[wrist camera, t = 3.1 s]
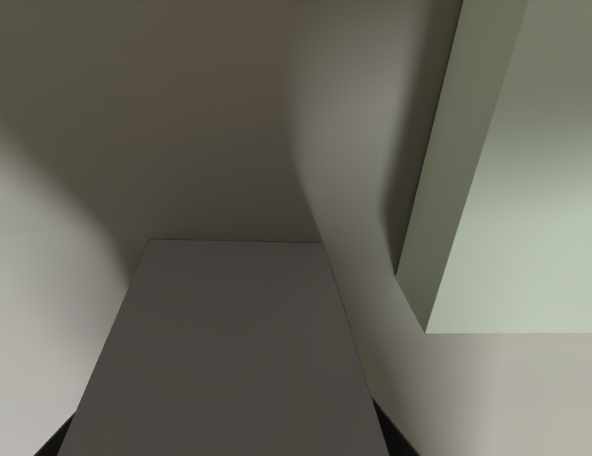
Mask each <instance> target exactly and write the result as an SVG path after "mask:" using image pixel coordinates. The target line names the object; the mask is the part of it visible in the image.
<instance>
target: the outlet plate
mask: <svg viewBox="0 0 592 456" xmlns="http://www.w3.org/2000/svg"><path fill="white" fill-rule="evenodd" d="M395 279H396V281H397V282H398V284H399V286H400V288H401V290H402V292H403V294H404V296H405V297H406V299H407V301H408V303H409V305H410V307H411V309H412V311H413V312H414V314H415V316H416V318H417V320H418V322H419V324H420V326H421V327H422V329H423V331H424V333H425V334H453V333H566V332H592V0H463V5H462V9H461V13H460V17H459V21H458V25H457V29H456V33H455V37H454V41H453V45H452V49H451V54H450V58H449V62H448V66H447V70H446V74H445V78H444V82H443V86H442V90H441V94H440V98H439V103H438V107H437V111H436V115H435V119H434V123H433V127H432V131H431V135H430V139H429V143H428V147H427V152H426V156H425V160H424V164H423V168H422V172H421V176H420V180H419V184H418V188H417V192H416V196H415V201H414V205H413V209H412V213H411V217H410V221H409V225H408V229H407V233H406V237H405V241H404V245H403V250H402V254H401V258H400V262H399V266H398V270H397V274H396V278H395Z"/></svg>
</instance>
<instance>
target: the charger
mask: <svg viewBox="0 0 592 456" xmlns="http://www.w3.org/2000/svg"><path fill="white" fill-rule="evenodd" d="M57 456H389V453H388V450H387V446H386V443H385V440H384V437H383V434H382V430H381V427H380V424H379V421H378V418H377V414H376V411H375V408H374V405H373V401H372V398H371V395H370V392H369V389H368V385H367V382H366V379H365V376H364V372H363V369H362V366H361V363H360V360H359V356H358V353H357V350H356V347H355V344H354V340H353V337H352V334H351V331H350V327H349V324H348V321H347V318H346V315H345V311H344V308H343V305H342V302H341V298H340V295H339V292H338V289H337V286H336V282H335V279H334V276H333V273H332V270H331V266H330V263H329V260H328V257H327V253H326V250H325V247H324V244H323V243H303V242H254V241H205V240H155V239H149V242H148V244H147V246H146V249H145V251H144V253H143V256H142V258H141V260H140V263H139V265H138V267H137V270H136V272H135V274H134V277H133V279H132V281H131V284H130V286H129V288H128V291H127V293H126V295H125V298H124V300H123V302H122V305H121V307H120V309H119V312H118V314H117V316H116V319H115V321H114V323H113V326H112V328H111V330H110V333H109V335H108V338H107V340H106V342H105V345H104V347H103V349H102V352H101V354H100V356H99V359H98V361H97V363H96V366H95V368H94V370H93V373H92V375H91V377H90V380H89V382H88V384H87V387H86V389H85V391H84V394H83V396H82V398H81V401H80V403H79V405H78V408H77V410H76V412H75V415H74V417H73V419H72V422H71V424H70V426H69V429H68V431H67V433H66V436H65V438H64V441H63V443H62V445H61V448H60V450H59V452H58V455H57Z"/></svg>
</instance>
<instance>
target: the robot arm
mask: <svg viewBox="0 0 592 456" xmlns="http://www.w3.org/2000/svg"><path fill="white" fill-rule="evenodd" d="M371 398H372V396H371ZM372 401H373V405H374V408H375V411H376V414H377V418H378V421H379V424H380V427H381V430H382V434H383V437H384V440H385V443H386V446H387V450H388V453H389V456H420V455H419V454H418V452H417V451H416V450H415V449H414V448H413V446H412V445H411V444H410V443H409V441H408V440H407V439H406V438H405V437H404V435H403V434H402V433H401V432H400V430H399V429H398V428H397V427H396V426H395V424H394V423H393V422H392V421H391V420H390V418H389V417H388V416H387V415H386V413H385V412H384V411H383V410H382V409H381V407H380V406H379V405H378V404H377V402H376V401H375V400H374V399H373V398H372ZM74 415H75V413H74V414H73V415H72V416H71V417H70V418H69V419H68V420H67V421H66V422H65V423H64V424H63V425H62V426H61V427H60V428H59V429H58V431H57V432H56V433H55V434H54V435H53V436H52V437H51V438H50V439H49V440H48V441H47V442H46V443H45V444H44V445H43V446H42V447H41V448H40V450H39V451H38V452H37V453H36V454H35V455H34V456H57V455H58V452H59V450H60V448H61V445H62V443H63V441H64V438H65V436H66V433H67V431H68V429H69V426H70V424H71V422H72V419H73V417H74Z"/></svg>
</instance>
